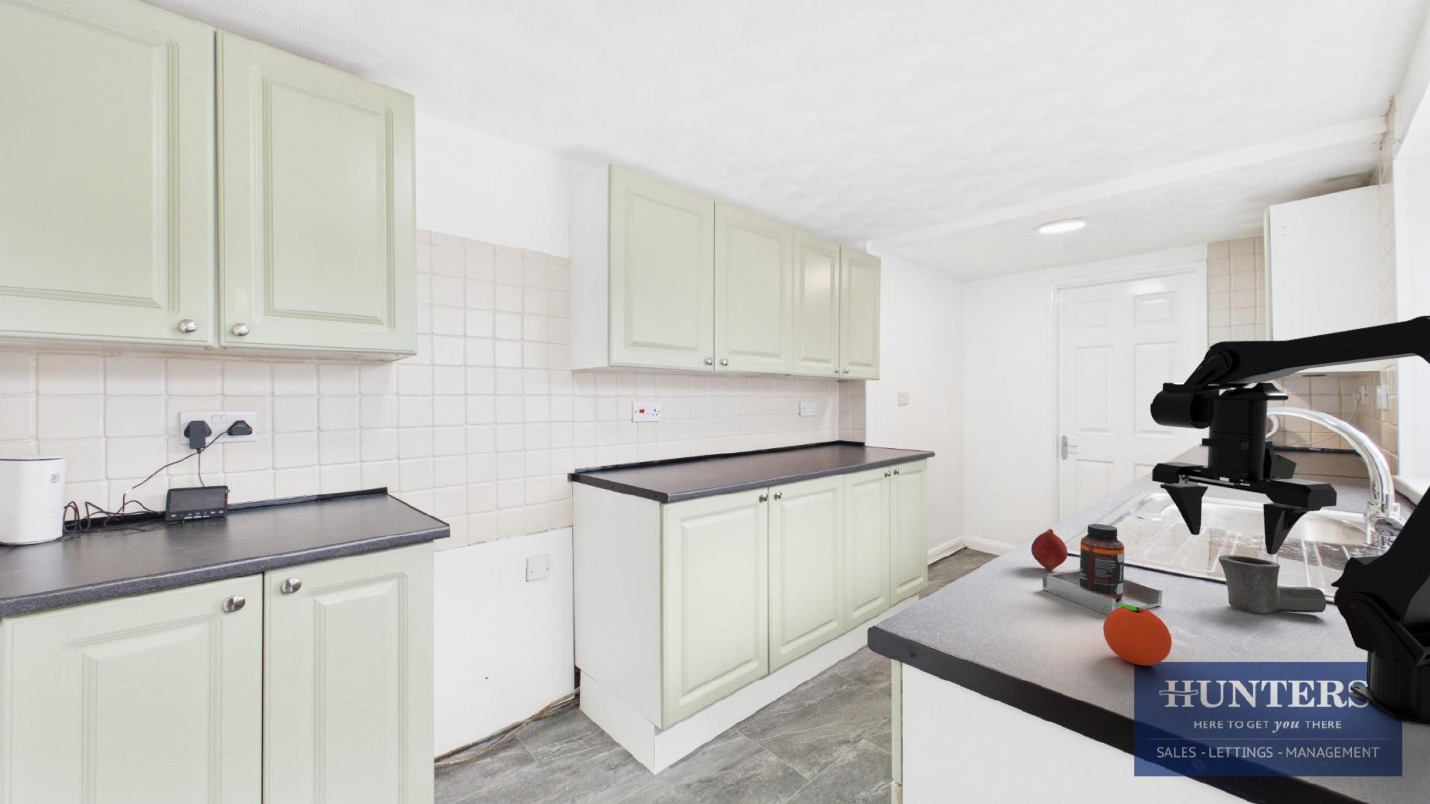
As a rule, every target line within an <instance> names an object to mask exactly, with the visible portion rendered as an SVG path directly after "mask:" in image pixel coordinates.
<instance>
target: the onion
mask: <svg viewBox="0 0 1430 804" xmlns="http://www.w3.org/2000/svg"><path fill="white" fill-rule="evenodd" d="M1030 550H1031V554H1032V557H1033V558H1034V559H1035V561H1036V562H1037V563H1039V564H1040V565H1041V566H1042V567H1043V568H1044V569H1045V570H1047V571H1053V570H1054V569H1056V568H1057V567H1059V566H1061V565H1062V564H1063V563H1064V562H1065V561H1066V560H1067V558H1068V549H1067V546H1066V544H1065V542H1064V541H1063V539H1061V537H1059V536H1058V535H1057V534H1055V533H1054V529H1052V528H1048V529H1047V530H1046V531H1044V532H1042V533H1040V534H1039V535H1037V536H1036V537H1035V539H1034V540H1033V542H1032V544H1031V549H1030Z"/></svg>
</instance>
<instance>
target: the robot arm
mask: <svg viewBox="0 0 1430 804" xmlns="http://www.w3.org/2000/svg"><path fill="white" fill-rule="evenodd" d="M1416 356H1417V357H1420V358H1421V359H1423V360H1424V361H1425V362H1426V363H1428V364H1429V365H1430V315H1420V316H1417V317H1414V318H1411V319H1408V320H1403V321H1402V320H1401V321H1399V322H1397V321H1396V322H1391V323H1384V324H1380V325H1373V326H1366V327H1361V328H1354V329H1348V330H1342V331H1336V332H1330V333H1324V334H1317V335H1311V336H1305V337H1298V338H1293V339H1285V340H1229V341H1228V340H1227V341H1226V340H1225V341H1219V342H1216V343H1213V344H1212V345H1210V346H1209V349H1208V350H1207V351H1206V353H1205V355H1204V357H1203V360H1202V361H1201V362H1200V363H1199V365H1197V366H1196V368H1195V370H1193V372H1192V373H1191V374H1190V376H1189V377H1187V379H1186V380H1185V382H1164V383H1162V390H1161V391H1159V392H1158V393H1157V394H1156V395H1155V396H1154V398H1153V399H1152V403H1150V406H1149V407H1150V408H1149V410H1150V416H1151V418H1152V420H1153V422H1155V423H1156V424H1157V425H1159V426H1163V427H1174V428H1186V429H1196V430H1205V429H1207V428H1209V429H1208V430H1209V432H1208V437H1202V438H1201V446H1204V447H1205V446H1206V447H1208V451H1207V466H1204V465H1201V464H1195V463H1194V464H1193V463H1189V462H1181V461H1175V462H1157V463H1156V465H1155V466H1153V468H1152V471H1151V481H1152V482H1157V483H1160V484H1159V485H1160V486H1159V487H1160V489H1162V490H1165V491H1166V493H1167V494H1168V495H1169V497H1170V498H1171V500H1172V502H1173V503H1174V504H1175V506H1176V508H1177V510H1178V512H1179V513H1180V515H1181V517H1182V519H1183V521H1184V522H1185V523H1184V524H1185V525H1186V527H1187V528H1188V530H1189V532H1190V534H1191V535H1192V536H1198V535H1200V533H1201V527H1202V513H1203V512H1202V509H1203V497H1204V495H1205V493H1206V492H1207V490H1208V489H1209V486H1214V487H1220V488H1226V489H1231V490H1239V491H1245V492H1251V493H1257V494H1262V495H1265V496H1266V497H1267V498H1268V499H1269V500H1270V501H1271V503H1263V504H1262V505H1263V507H1262V509H1263V527H1264V528H1263V529H1264V544H1265V550H1266V553H1267V554H1268V555H1271V556H1272V555H1276V554H1277V553H1278V552H1279V550H1280V548H1281V547H1282V545H1283V544H1284V542H1285V540H1286V539H1287V537H1288V535H1289V533H1290V532H1291V531H1292V528H1294V526H1295V525H1296V523H1297V522H1298V521H1299V520H1300V519H1301V518H1302V517H1303V516H1305V515H1306V514H1307V513H1309V512H1319V511H1321V510H1322V508H1325V507H1336V506H1337V503H1338V502H1337V497H1338V492H1337V491H1336V489H1335V488H1334V487H1333V485H1332V484H1331V483H1329V482H1322V481H1316V480H1308V479H1302V478H1293V477H1294V474H1295V471H1296V468H1297V465H1298V463H1297V462H1296V461H1293V460H1292V459H1289V458H1287V457H1284V456H1282V455H1280V454H1276V453H1275V451H1274V449H1275V448H1274V447H1275V446H1274V444H1273V441H1272V440H1266V438H1267V419H1268V402H1269V401H1270V402H1271V401H1281V402H1282V401H1283V402H1286V401H1288V400H1289V395H1288V394H1286V393H1285V392H1283V391H1281V390H1280V389H1279V388H1277V387H1276V386H1275V384H1274V383H1272V382H1269V381H1274V380H1278V379H1281V378H1285V377H1288V376H1290V375H1293V374H1296V373H1298V372H1300V371H1305V370H1309V369H1317V368H1325V367H1332V366H1341V365H1342V366H1343V365H1350V364H1358V363H1368V362H1376V361H1384V360H1391V359H1392V360H1393V359H1402V358H1410V357H1411V358H1412V357H1416ZM1251 384H1255V385H1254V386H1253V387H1248V386H1250V385H1251ZM1221 390H1222V391H1223V390H1225V391H1223V392H1222V393H1221V394H1220V391H1221ZM1221 478H1224V479H1228V480H1222V479H1221ZM1330 586H1331V587H1333V588H1337V589H1336V590H1335V592H1334V594H1333V595H1334V596H1333V604H1334V606H1336V607H1337V610H1338V612H1339V614H1340V615H1341V617H1342V618H1343V619H1344V620H1345V624H1346V626H1347V629H1348V631H1349V633H1350V636H1351V638H1352V642H1353V643H1354V644H1353V645H1354V646H1355V647H1356V648H1357V649H1360V650H1362V651H1366V652H1367V653H1366V657H1367V658H1366V660H1367V661H1366V677H1365V678H1366V683H1365V684H1366V685H1367V686H1362V685H1354V684H1350V685H1349V690H1350V691H1351V692H1354V694H1356V695H1357V696H1359V697H1360V698H1362V699H1364V700H1366V701H1367V702H1368V703H1370V704H1372V705H1374V706H1375V707H1377V708H1378V709H1380V711H1381V710H1382V711H1383V712H1384V713H1386V714H1388V715H1389V716H1390V717H1392V718H1394V719H1395V720H1398V721H1401V722H1406V723H1413V724H1420V725H1427V726H1428V725H1429V726H1430V485H1429V486H1428V487H1427V489H1426V490H1425V492H1424V494H1423V495H1422V497H1421V498H1420V500H1419V501H1418V503H1417V504H1416V506H1415V507H1414V509H1413V511H1412V512H1411V513H1410V515H1409V517H1408V518H1407V520H1406V521H1405V523H1404V525H1403V526H1402V528H1400V531H1399V532H1398V534H1397V535H1396V537H1395V539H1393V542H1392V543H1391V545H1390V546H1389V548H1388V549H1387V550H1386V551H1385V552H1384V553H1383V554H1378V555H1363V556H1351V557H1349V558H1348V560H1347V561H1346V562H1345V566H1344V568H1343V572H1342V573H1341V576H1340V577H1339V578H1338V579H1336V581H1334V582H1331V584H1330Z"/></svg>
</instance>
